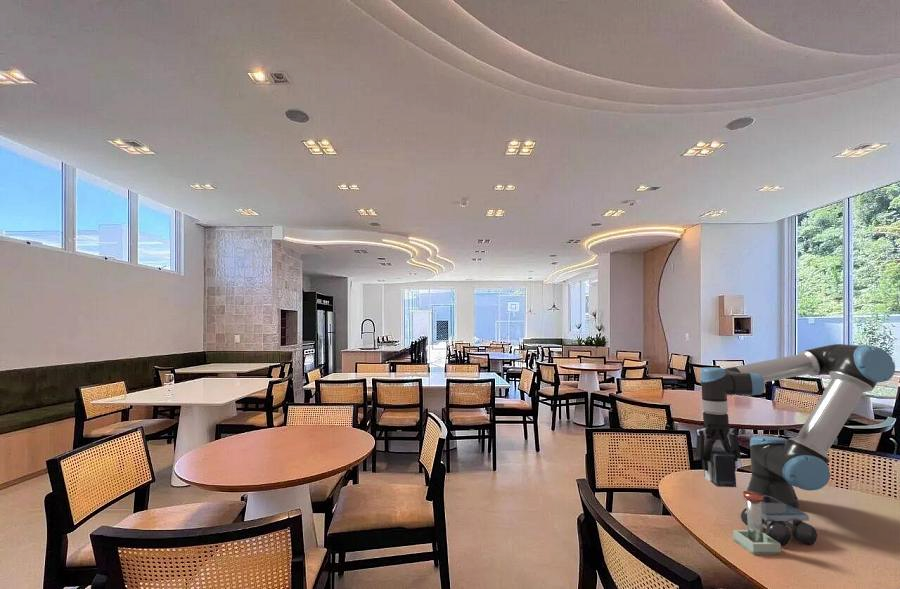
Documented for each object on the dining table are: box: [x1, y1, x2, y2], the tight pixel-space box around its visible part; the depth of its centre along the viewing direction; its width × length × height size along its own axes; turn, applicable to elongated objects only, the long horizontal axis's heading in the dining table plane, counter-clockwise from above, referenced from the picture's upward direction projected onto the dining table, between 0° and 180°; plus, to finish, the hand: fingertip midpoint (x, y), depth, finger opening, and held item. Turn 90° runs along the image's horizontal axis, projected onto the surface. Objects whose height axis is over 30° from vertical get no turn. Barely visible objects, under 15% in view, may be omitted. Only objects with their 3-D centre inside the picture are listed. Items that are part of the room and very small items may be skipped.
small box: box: [703, 446, 737, 488], centre depth 143 cm, size 11×6×10 cm, turn 170°
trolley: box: [740, 495, 818, 547], centre depth 128 cm, size 14×12×11 cm
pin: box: [742, 490, 764, 543], centre depth 121 cm, size 5×5×14 cm
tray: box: [732, 529, 782, 556], centre depth 121 cm, size 8×8×3 cm
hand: (719, 479), depth 143 cm, fingers closed on small box, 7 cm apart
